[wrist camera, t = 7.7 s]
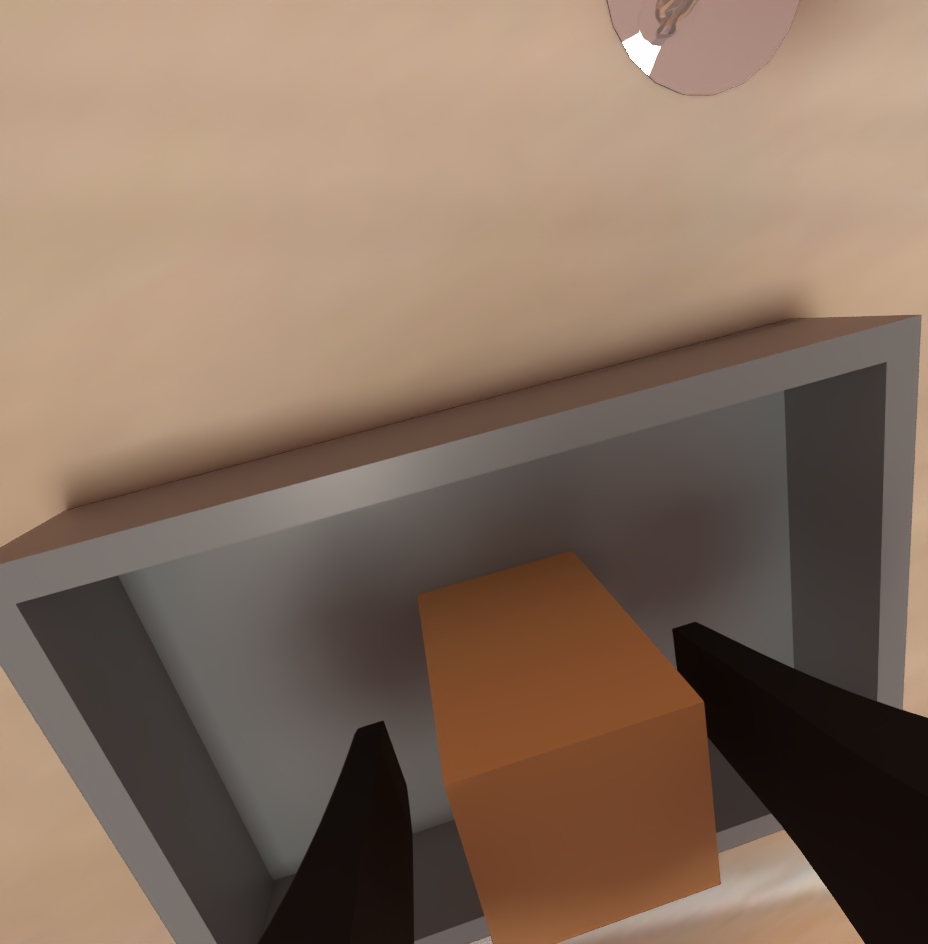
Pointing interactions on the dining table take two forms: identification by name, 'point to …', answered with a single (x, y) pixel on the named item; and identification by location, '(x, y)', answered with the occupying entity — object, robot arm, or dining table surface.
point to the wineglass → (701, 39)
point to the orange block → (566, 752)
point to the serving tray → (443, 564)
